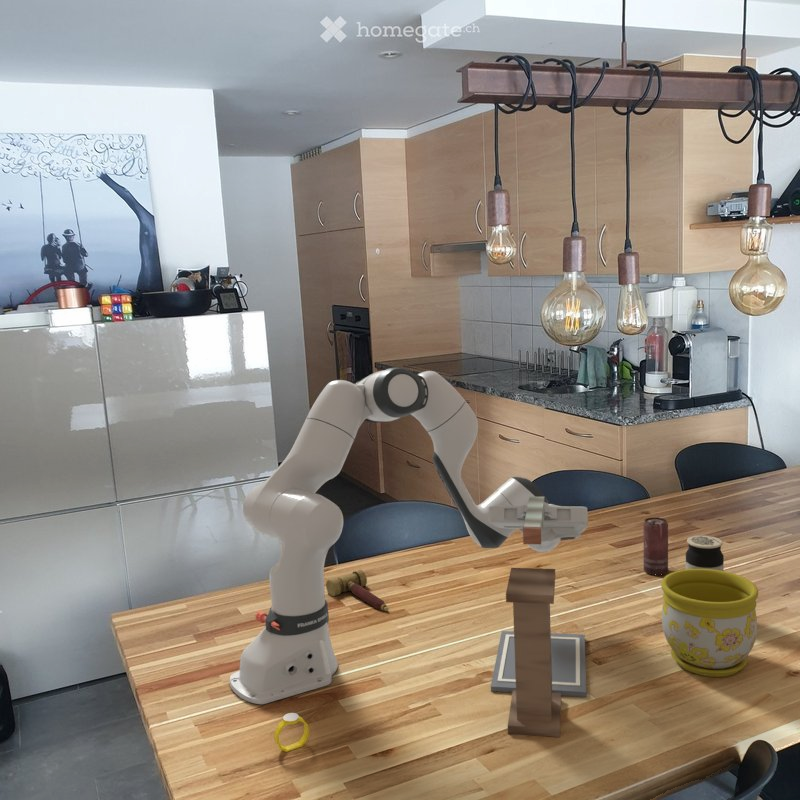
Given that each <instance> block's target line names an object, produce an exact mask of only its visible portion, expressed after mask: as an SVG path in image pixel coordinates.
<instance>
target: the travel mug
mask: <svg viewBox="0 0 800 800" xmlns="http://www.w3.org/2000/svg"><path fill="white" fill-rule="evenodd" d="M686 543H687V545H688V549H687V550H686V552H685V570H686V569H713V570H720V571H724V566H725V565H724V563H725V562H724V561H725V559H724V557H725V556H724V554H723V552H722V551H721V548H722V546H723V543H724V542H723V540H721V539H720V538H718V537H715V536H710V535H693V536H690V537H688V538H687V539H686Z"/></svg>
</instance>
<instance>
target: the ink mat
mask: <svg viewBox="0 0 800 800" xmlns="http://www.w3.org/2000/svg"><path fill="white" fill-rule="evenodd" d="M585 637H586V635H585V634H581V633H579V634H577V633H557V632H556V633H555V632H551V665H552V693H561V697H563V696H564V697H580V698H581V697H582V698H586V697H587V678H586V677H587V676H586V672H587V670H586V669H587V667H586V638H585ZM513 690H516V675H515V645H514V630H513V631H511V630H509V631H508V630H501V634H500V637H499V643H498V647H497V653H496V659H495V663H494V669H493V674H492V679H491V684H490V692H496V691H497V693H498V692H499V693H500V692H501V693H512V692H513Z"/></svg>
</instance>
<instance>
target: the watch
mask: <svg viewBox="0 0 800 800" xmlns="http://www.w3.org/2000/svg"><path fill="white" fill-rule="evenodd" d="M298 722H301V723H303V727H304V730H303V734H302V736H301V737H300V738H299V740H298V741H297V742H294V743H292V744H289V745H286V746H284V745H282V744H280V734H281V732H282V730H283V729H284V728H285V727H286V725H289V726H290V725H291V726H292V725H296V724H297V723H298ZM273 734H274V742H275V743H276V745H277V747H278V748H279V749H280V750H281V751H282V752H285V753H288V752H291V751H293V750H296V749H299V748H302V747H303V746H304V745H305V743H306V742H307V741H308V738H309V735H310V728H309V725H308V723H307V722H306V720H304V718H303V717H302V716H301V715H299V714H298V713H296V712H288V713H286V714H284V715H283V717H282V720H281V721H280V722H279V723H278V725H277V726H276V728H275V731H274V733H273Z"/></svg>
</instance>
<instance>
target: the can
mask: <svg viewBox="0 0 800 800" xmlns="http://www.w3.org/2000/svg"><path fill="white" fill-rule="evenodd" d="M643 570H644V572H645V573H646V572H647V573H649V574H648V575H650V574H653V575H652V576H655V574H656V575H661V574H665V573H666V574H667V573H668V572H669V523H668V521H667V519H665V518H663V517H662V518H661V517H648V518H645V519H644V521H643ZM647 573H646V574H647ZM666 574H665V575H666ZM661 576H662V575H661Z"/></svg>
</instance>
